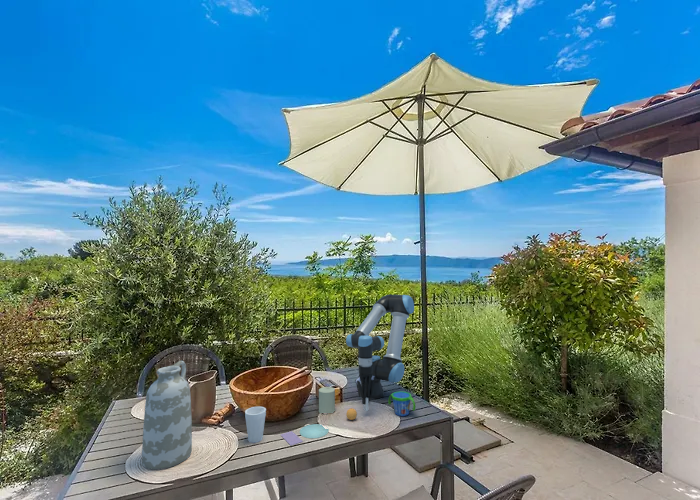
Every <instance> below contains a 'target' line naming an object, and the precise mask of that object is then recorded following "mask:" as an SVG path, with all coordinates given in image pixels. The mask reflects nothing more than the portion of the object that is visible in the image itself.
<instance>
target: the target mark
mask: <svg viewBox="0 0 700 500" xmlns="http://www.w3.org/2000/svg"><path fill="white" fill-rule="evenodd" d="M322 425H323V424H320V423H318V424H317V423H313V424H309V425H305V426H303V427H302V428H300V430H299V434H300V436H302V437H304V438H306V439H319V438H322V437H325V436H327V435H328V433H329V428H328V429H325V428H324V427H323V426H322Z"/></svg>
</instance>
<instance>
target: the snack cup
mask: <svg viewBox="0 0 700 500" xmlns="http://www.w3.org/2000/svg"><path fill="white" fill-rule="evenodd" d="M414 399H415V398H413V396H412V394H411V393H410V392H407V391H403V390H401V391H399V390H398V391H395V392H392V393H391V394H390V395H389V396H388V401H387V402H388V403H387V404H388V406H389V405H391V404H392V405H393V409H394V413H395V415H397V416H399V417H405V416H408V415H409V413H410V408H411V402H412V411H415V410H416V403H415V402H416V401H415V400H414Z"/></svg>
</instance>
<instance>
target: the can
mask: <svg viewBox="0 0 700 500" xmlns="http://www.w3.org/2000/svg"><path fill="white" fill-rule="evenodd" d="M335 394H336V388H335V387H331V386H324V387H323V386H322V387H320V388H319V389H318V413H319V414H321V413H332V414H333V412H334V411H335V412H336V395H335ZM335 412H334V413H335Z"/></svg>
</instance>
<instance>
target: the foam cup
mask: <svg viewBox="0 0 700 500" xmlns="http://www.w3.org/2000/svg"><path fill="white" fill-rule="evenodd" d="M266 411H267V408H266V407H264V406H252V407H249V408H247V409H245V410H244V412H245V413H244V417H245V424H246V425H245V426H246V431H247V440H248V442H249V443H259V442H261V441H262V440H263V436H264V430H265V429H264V428H265V421H266V415H267V412H266Z"/></svg>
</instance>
